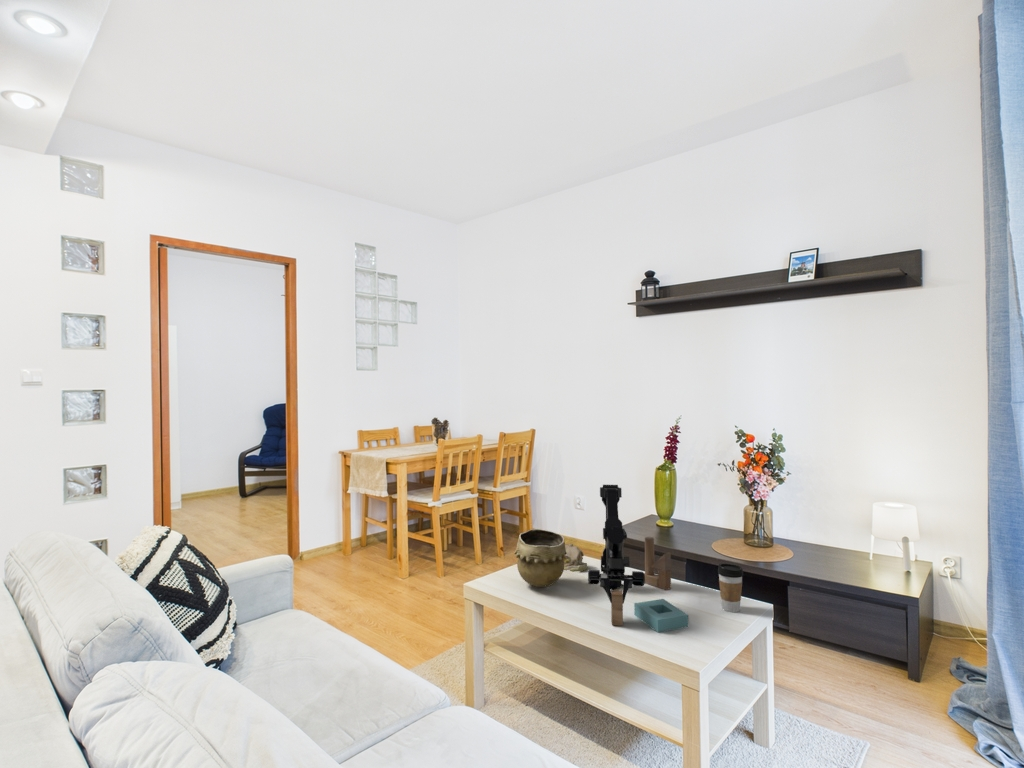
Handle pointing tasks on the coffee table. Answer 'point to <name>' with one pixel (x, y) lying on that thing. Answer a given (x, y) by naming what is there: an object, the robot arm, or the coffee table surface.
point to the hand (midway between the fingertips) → (617, 602)
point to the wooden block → (657, 567)
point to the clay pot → (540, 557)
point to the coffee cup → (730, 586)
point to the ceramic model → (574, 559)
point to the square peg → (617, 607)
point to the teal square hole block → (661, 615)
